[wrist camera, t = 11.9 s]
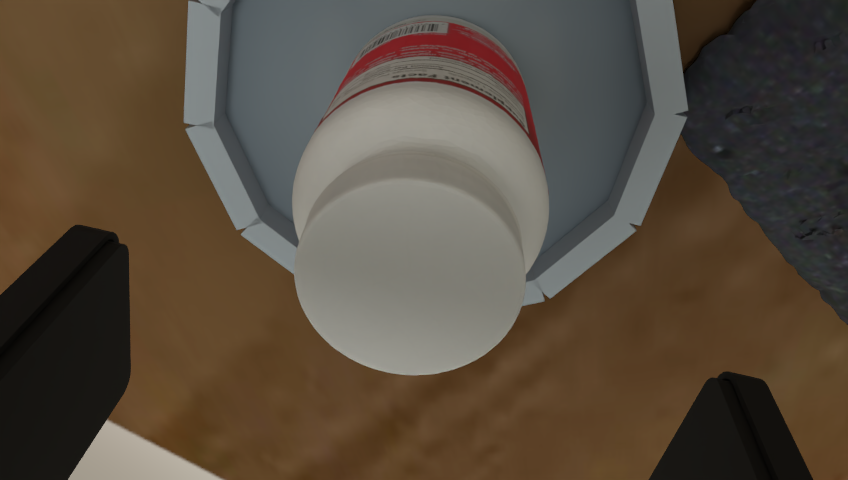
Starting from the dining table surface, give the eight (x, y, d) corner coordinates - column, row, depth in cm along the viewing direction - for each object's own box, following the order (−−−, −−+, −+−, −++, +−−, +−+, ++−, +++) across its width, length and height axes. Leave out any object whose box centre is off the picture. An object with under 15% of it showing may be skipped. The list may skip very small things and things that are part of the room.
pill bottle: (459, 217, 25) (450, 443, 16) (312, 129, 24) (206, 318, 14) (565, 78, 23) (633, 252, 13) (406, -31, 21) (350, 75, 12)
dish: (749, -95, 21) (779, -88, 19) (578, 320, 29) (586, 358, 27) (223, -227, 20) (194, -235, 18) (197, 238, 28) (175, 269, 26)
